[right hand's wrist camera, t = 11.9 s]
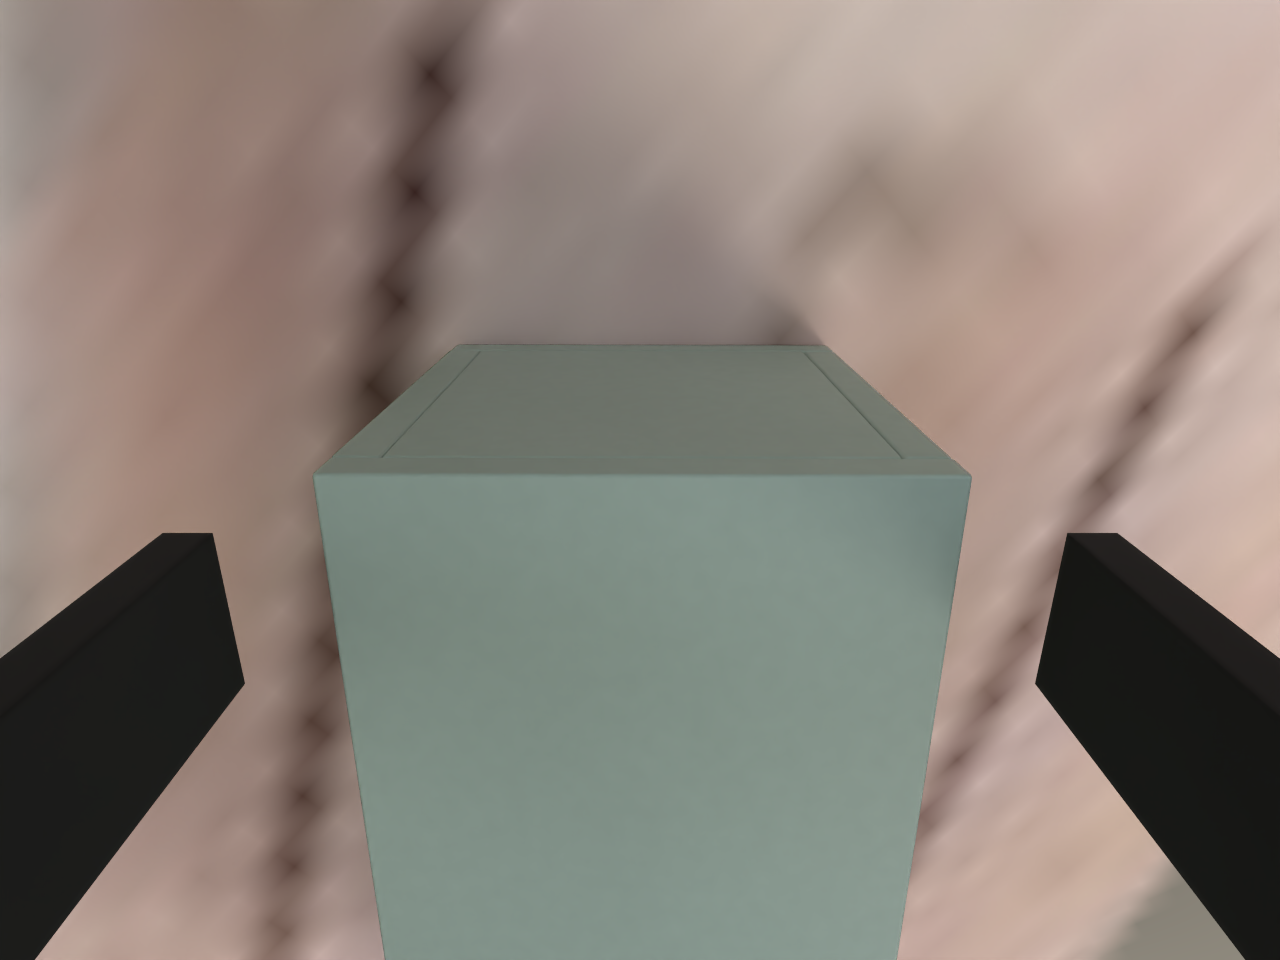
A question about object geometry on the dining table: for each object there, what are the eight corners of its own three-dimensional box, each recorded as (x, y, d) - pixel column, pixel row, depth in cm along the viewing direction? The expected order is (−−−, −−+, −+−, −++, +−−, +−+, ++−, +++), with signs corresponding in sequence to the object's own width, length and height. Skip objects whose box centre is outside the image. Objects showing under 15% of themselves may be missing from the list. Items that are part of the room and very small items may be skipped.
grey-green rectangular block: (785, 845, 28) (861, 1196, 18) (495, 845, 28) (419, 1194, 18) (827, 344, 22) (974, 474, 12) (456, 344, 22) (310, 474, 12)
